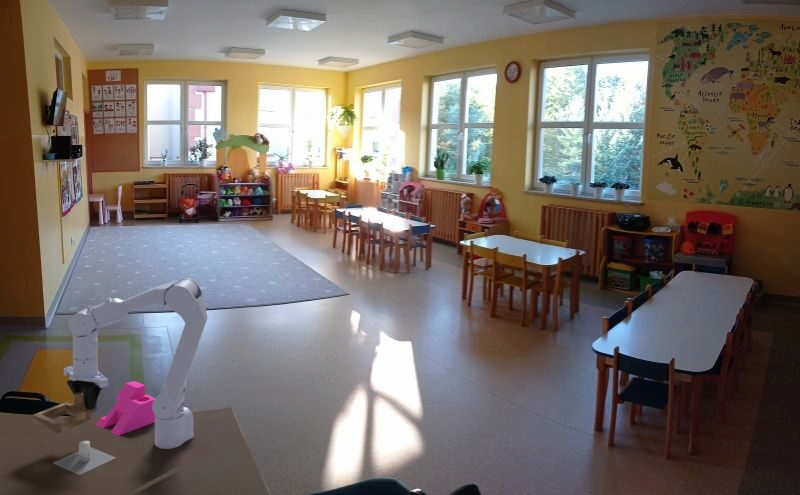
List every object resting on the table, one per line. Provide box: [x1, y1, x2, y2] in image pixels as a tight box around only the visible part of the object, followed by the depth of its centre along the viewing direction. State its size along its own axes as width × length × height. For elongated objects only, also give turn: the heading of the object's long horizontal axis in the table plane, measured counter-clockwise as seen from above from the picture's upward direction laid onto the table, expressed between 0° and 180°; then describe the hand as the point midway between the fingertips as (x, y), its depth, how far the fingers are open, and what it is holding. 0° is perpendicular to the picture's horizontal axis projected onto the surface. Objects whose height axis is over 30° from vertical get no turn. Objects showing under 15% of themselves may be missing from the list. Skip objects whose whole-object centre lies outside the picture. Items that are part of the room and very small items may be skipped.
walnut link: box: [32, 391, 98, 435], centre depth 158 cm, size 13×9×6 cm
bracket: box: [95, 380, 157, 437], centre depth 174 cm, size 12×10×10 cm
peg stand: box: [52, 440, 117, 476], centre depth 153 cm, size 10×10×6 cm
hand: (86, 407), depth 162 cm, fingers closed on walnut link, 3 cm apart
